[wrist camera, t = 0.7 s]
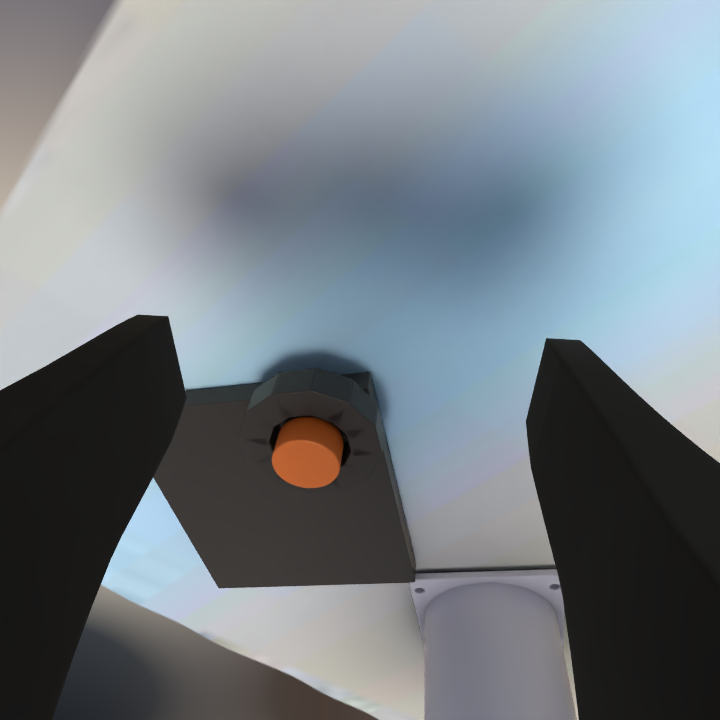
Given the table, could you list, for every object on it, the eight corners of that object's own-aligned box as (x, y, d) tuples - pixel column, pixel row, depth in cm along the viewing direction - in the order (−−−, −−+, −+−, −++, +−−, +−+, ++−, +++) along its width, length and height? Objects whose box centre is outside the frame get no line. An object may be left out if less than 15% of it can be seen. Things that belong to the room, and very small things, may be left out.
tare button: (350, 461, 23) (346, 486, 21) (288, 465, 23) (282, 490, 22) (335, 412, 21) (330, 437, 20) (270, 418, 22) (262, 443, 21)
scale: (420, 564, 30) (420, 608, 28) (224, 571, 32) (210, 612, 30) (370, 345, 22) (365, 384, 20) (113, 374, 24) (84, 412, 22)
